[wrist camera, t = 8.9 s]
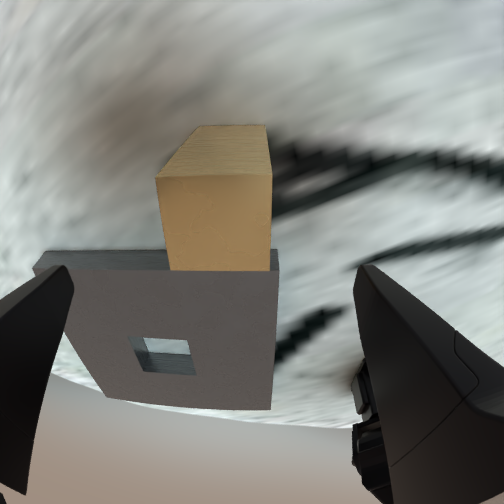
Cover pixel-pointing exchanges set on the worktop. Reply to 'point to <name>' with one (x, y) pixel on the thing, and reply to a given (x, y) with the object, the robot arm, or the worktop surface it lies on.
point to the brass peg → (218, 200)
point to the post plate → (172, 328)
